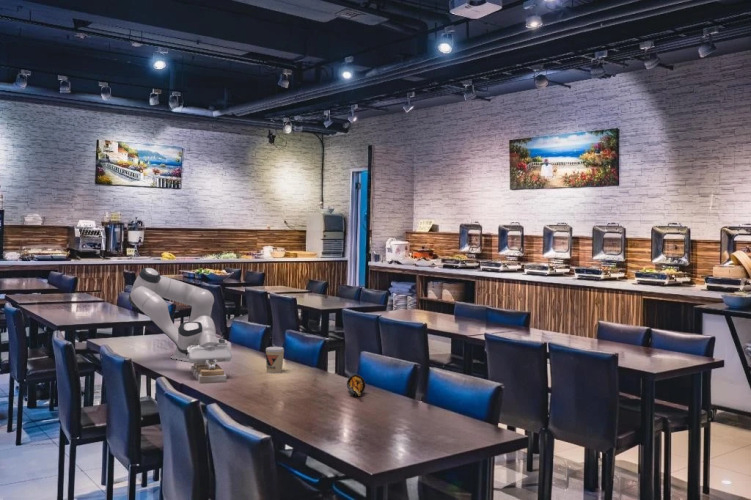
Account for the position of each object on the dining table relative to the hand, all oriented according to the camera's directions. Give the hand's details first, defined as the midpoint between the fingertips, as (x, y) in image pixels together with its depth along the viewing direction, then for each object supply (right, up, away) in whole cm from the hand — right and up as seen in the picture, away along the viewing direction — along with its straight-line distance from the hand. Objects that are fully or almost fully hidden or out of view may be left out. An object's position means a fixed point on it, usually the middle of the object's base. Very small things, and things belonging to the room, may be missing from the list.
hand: (212, 368), depth 324 cm
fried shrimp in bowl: (+69, -9, -21) cm, 72 cm away
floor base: (-4, -5, +9) cm, 12 cm away
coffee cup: (+26, -6, +26) cm, 37 cm away
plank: (-2, -3, +3) cm, 4 cm away
